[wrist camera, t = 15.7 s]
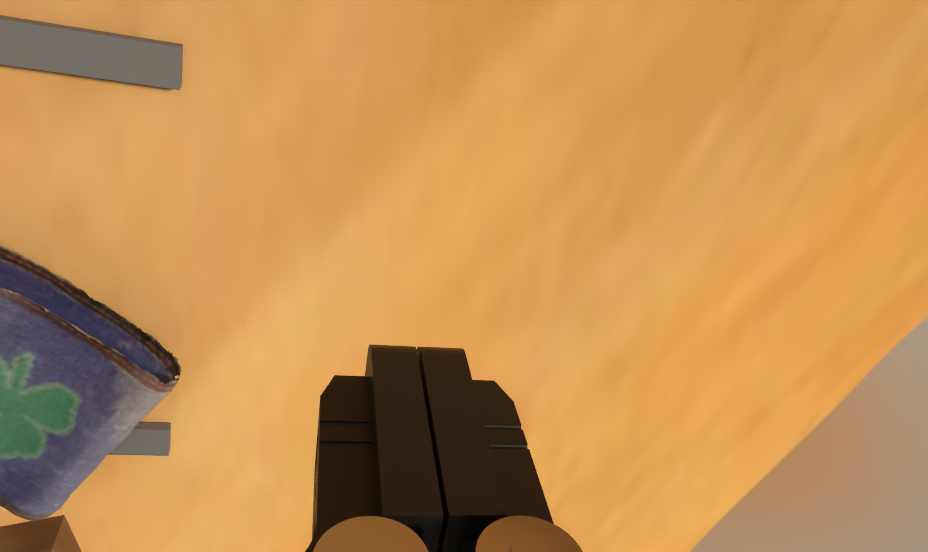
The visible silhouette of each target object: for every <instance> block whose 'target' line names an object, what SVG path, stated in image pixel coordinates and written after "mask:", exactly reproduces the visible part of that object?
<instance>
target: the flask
mask: <svg viewBox="0 0 928 552" xmlns="http://www.w3.org/2000/svg"><path fill="white" fill-rule="evenodd" d="M180 372H181V368H180V365H179V364H178V359H177V358H176V357H173V356H172V353H169V351H168V352H167V351H166V350H165V349H164V348H163V347H162V346H161V345H160V343H159V342H157V339H155V338H153V337H152V336H151V335H148V333H144V332H142V330H141V329H140V328H137V327H136V326H135V325H134V324H133V323H130V322H129V321H128V320H126V319H125V318H124V317H122V316H120V315H119V314H117V313H116V312H115V311H112V310H111V309H110V308H108V307H107V306H106V305H105V304H102V303H100V302H98V301H94V300H93V299H92V298H89V296H88V295H87V293H85V292H84V291H83V290H81V289H78V288H77V287H76V286H74V285H73V284H72V283H71V282H70V281H68V280H66V279H64V278H62V277H61V276H60V275H57V274H54V273H53V272H49V270H48V269H46V268H45V267H43V266H40V265H39V264H36V263H35V262H32V261H31V260H29V259H27V258H25V257H24V256H21V255H20V254H18V253H16V252H14V251H12V250H10V249H8V248H5V247H2V246H1V245H0V506H2V507H4V508H6V509H7V510H8V511H10V512H11V513H13V514H14V515H17V516H19V517H21V518H24V519H27V520H31V521H38V520H40V519H42V518H47V517H48V516H50V515H51V514H53V513H54V512H55V511H57V510H59V509H60V508H61V507H62V506H63V504H64V503H65V502H66V501H67V499H68V498H69V496H70V495H71V493H72V492H73V491H74V490H75V489H76V488H77V487H78V486H79V485H80V484H81V483H82V482H83V481H84V480H85V478H87V477H88V476H89V475H90V474H91V473H92V472H93V471H94V470H95V469H96V468H97V467H98V465H99V464H100V463H101V461H102V460H103V459H104V458H105V457H106V456H107V455H108V454H109V453H110V452H111V451H112V450H113V449H114V448H115V447H116V446H117V445H119V444H120V443H121V442H122V441H123V440H124V439H125V438H126V437H127V436H128V435H129V434H130V433H131V432H132V430H133V428H134V427H135V426H136V425H137V424H138V423H139V422H140V421H141V420H142V419H143V418H144V417H145V416H146V415H147V414H148V413H149V412H150V411H151V410H152V409H153V408H154V407H155V406H156V405H157V404H158V403H159V402H160V401H161V400H162V399H163V398H164V397H165V396H166V395H167V394H168V393H169V392H171V391H172V389H173V388H174V387H175V385H176V384H177V382H178V380H179V378H178V379H177V378H176V380H175V377H174V376H178V375H179V376H180Z"/></svg>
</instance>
